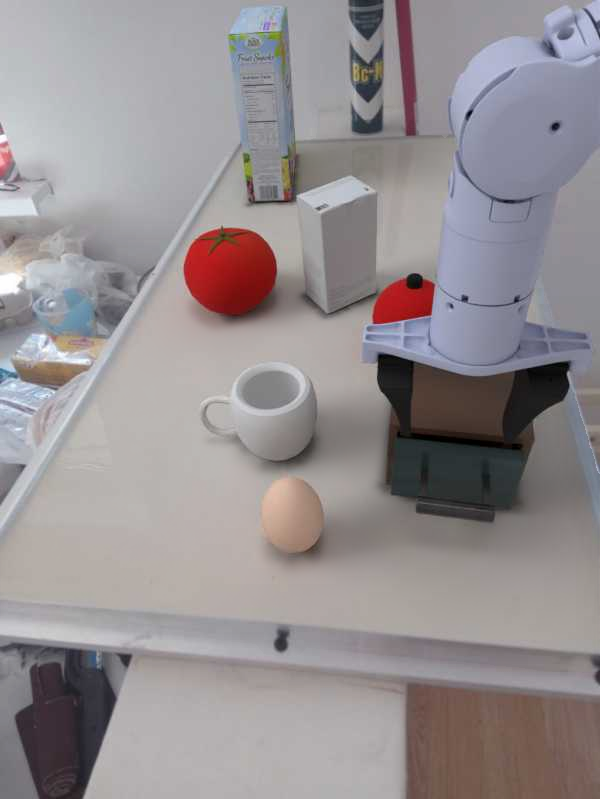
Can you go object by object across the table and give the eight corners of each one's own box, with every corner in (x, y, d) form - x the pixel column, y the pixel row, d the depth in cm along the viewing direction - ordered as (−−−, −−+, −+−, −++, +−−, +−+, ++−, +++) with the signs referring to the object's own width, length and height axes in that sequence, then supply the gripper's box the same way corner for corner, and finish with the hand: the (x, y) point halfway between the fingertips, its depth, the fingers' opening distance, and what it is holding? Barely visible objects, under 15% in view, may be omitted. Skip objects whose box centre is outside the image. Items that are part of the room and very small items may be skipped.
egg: (337, 548, 47) (334, 493, 42) (284, 579, 46) (274, 525, 40) (306, 505, 51) (299, 449, 45) (256, 533, 49) (242, 477, 43)
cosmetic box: (352, 276, 78) (351, 172, 67) (378, 295, 74) (381, 188, 64) (302, 296, 75) (293, 191, 65) (326, 317, 71) (320, 209, 61)
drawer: (512, 554, 45) (531, 507, 40) (386, 536, 47) (389, 489, 42) (502, 409, 56) (516, 359, 52) (401, 399, 58) (405, 351, 54)
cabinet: (513, 501, 49) (535, 439, 43) (385, 485, 52) (389, 424, 46) (505, 397, 59) (522, 334, 53) (397, 387, 61) (401, 326, 55)
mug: (321, 411, 59) (317, 356, 54) (317, 473, 53) (313, 418, 48) (213, 411, 61) (199, 357, 55) (198, 472, 55) (180, 418, 49)
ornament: (457, 335, 67) (468, 263, 60) (432, 381, 61) (441, 308, 54) (388, 318, 70) (392, 248, 63) (359, 359, 65) (359, 288, 58)
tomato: (181, 298, 77) (163, 229, 70) (258, 270, 81) (248, 202, 73) (212, 339, 70) (194, 267, 63) (294, 307, 74) (287, 235, 66)
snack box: (296, 202, 96) (281, 29, 78) (247, 205, 97) (222, 35, 79) (299, 154, 111) (288, 1, 93) (257, 157, 112) (238, 6, 94)
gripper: (599, 246, 34) (546, 399, 44) (367, 244, 37) (365, 389, 46) (628, 313, 29) (562, 468, 39) (359, 305, 32) (359, 453, 41)
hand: (455, 430), depth 42 cm, fingers open, 7 cm apart
